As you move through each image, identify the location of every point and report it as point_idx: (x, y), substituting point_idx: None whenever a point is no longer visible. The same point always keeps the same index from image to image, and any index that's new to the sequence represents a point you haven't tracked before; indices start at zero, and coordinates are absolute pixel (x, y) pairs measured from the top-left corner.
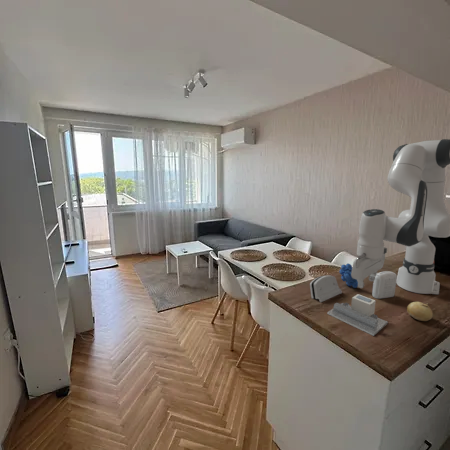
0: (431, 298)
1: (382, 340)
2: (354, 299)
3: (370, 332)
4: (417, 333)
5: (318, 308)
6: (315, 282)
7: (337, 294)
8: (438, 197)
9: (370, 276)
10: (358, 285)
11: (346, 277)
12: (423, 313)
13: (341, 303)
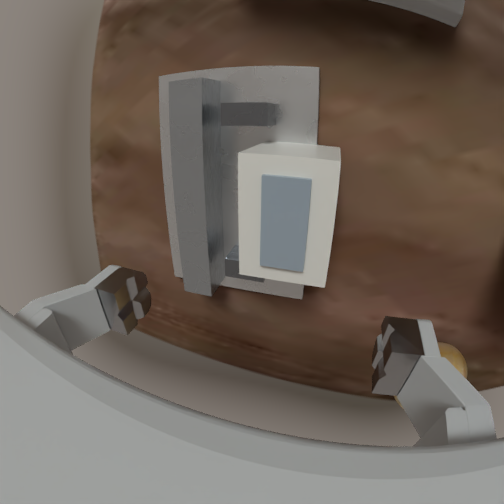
0: None
1: (182, 295)
2: (240, 171)
3: (173, 265)
4: (311, 364)
5: (175, 25)
6: None
7: (412, 10)
8: None
9: (397, 365)
10: (104, 275)
11: None
12: (395, 398)
13: (305, 67)
